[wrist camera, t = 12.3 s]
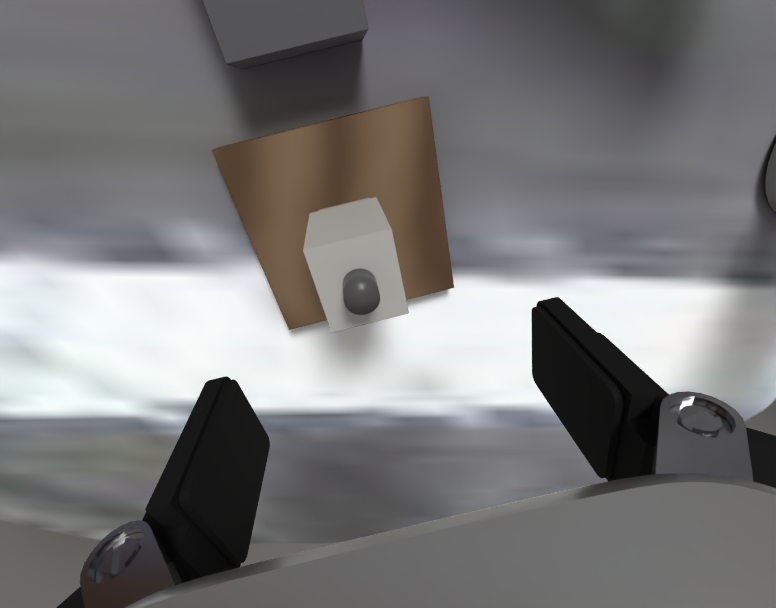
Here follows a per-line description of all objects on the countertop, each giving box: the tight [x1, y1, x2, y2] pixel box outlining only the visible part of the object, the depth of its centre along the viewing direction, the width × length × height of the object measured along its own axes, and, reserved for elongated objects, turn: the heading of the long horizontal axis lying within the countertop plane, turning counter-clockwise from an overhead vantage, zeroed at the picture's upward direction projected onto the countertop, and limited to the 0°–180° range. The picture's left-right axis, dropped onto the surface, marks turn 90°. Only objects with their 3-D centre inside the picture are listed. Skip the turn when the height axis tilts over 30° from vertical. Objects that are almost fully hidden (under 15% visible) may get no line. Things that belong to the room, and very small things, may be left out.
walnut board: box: [212, 96, 454, 330], centre depth 25 cm, size 13×13×1 cm
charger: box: [303, 197, 409, 332], centre depth 20 cm, size 4×4×10 cm
